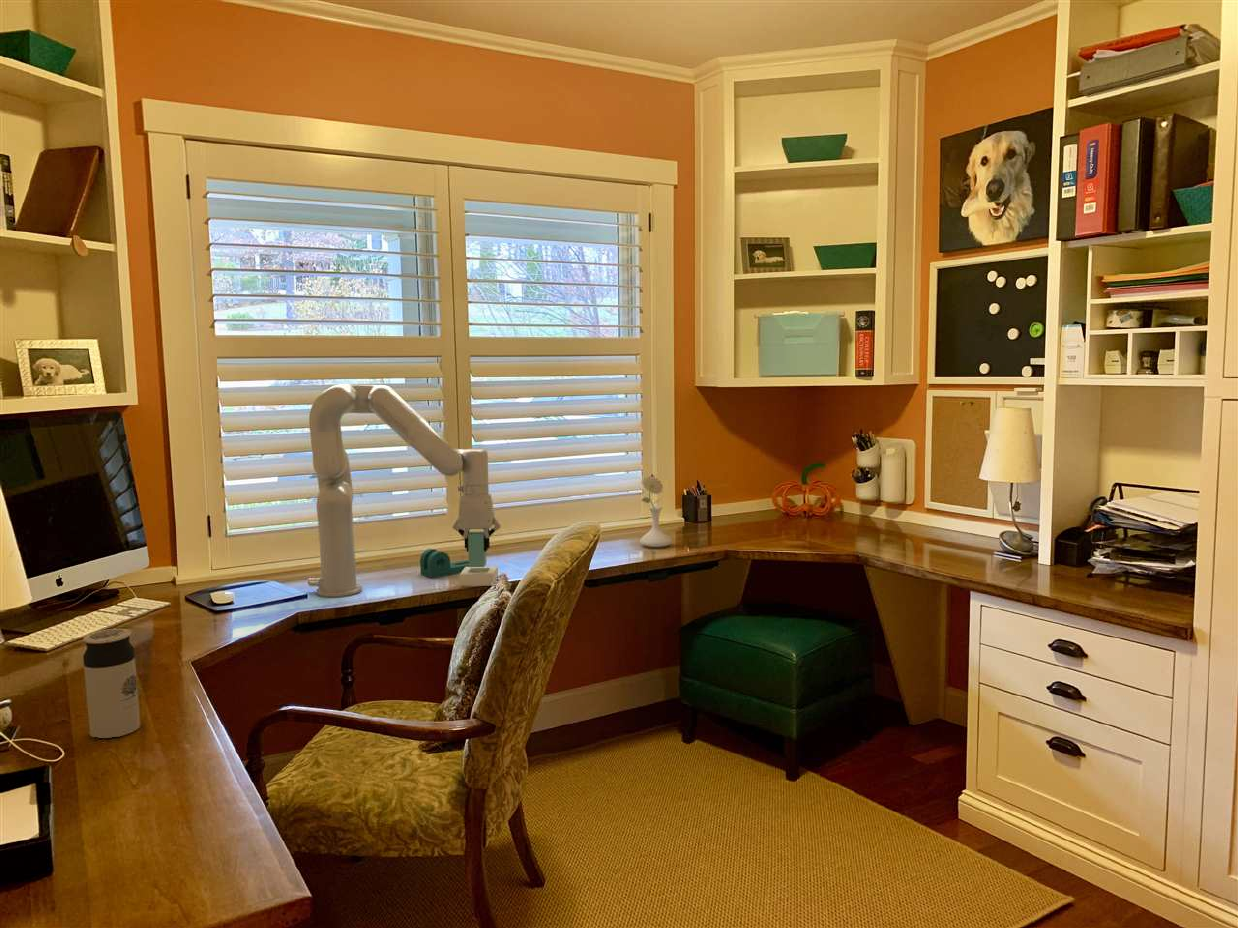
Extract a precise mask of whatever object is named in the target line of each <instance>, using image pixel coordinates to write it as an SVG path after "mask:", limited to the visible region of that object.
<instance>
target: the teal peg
mask: <svg viewBox="0 0 1238 928" xmlns="http://www.w3.org/2000/svg"><path fill="white" fill-rule="evenodd" d="M484 536H485V534H484V530H482V531H478V530H476V531H474V530H470V532H469V534H468V560H469V567H484V566H486V565H487V551H486V552H485V551H484V538H485V537H484Z"/></svg>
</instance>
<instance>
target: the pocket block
mask: <svg viewBox="0 0 1238 928" xmlns="http://www.w3.org/2000/svg"><path fill="white" fill-rule="evenodd" d="M497 577H498V578H499V566H497V565H495V566H493V565H492V566H491V565H490V566H486V565H485V566H484V567H465V568H464V569H463V571H462V572H461V573H459V586H460V587H473V586H474V587H475V586H477V587H479V586H480V587H481V586H482V587H483V586H486V587H487V586H492V585H491V584H492V583H493V582H494V581H495V579H496V578H497Z"/></svg>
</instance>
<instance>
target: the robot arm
mask: <svg viewBox="0 0 1238 928" xmlns="http://www.w3.org/2000/svg"><path fill="white" fill-rule="evenodd" d="M346 414H375V415H376V416H377V417H378V418H379V419H380V420H381V421H382V422H383V423H385V425H386V426H388V427H389V428H390V429H391V430H392V431H393V432H394V433H395V434H397V435H398V437H400V438H401V439H402V440H403V441H404V442H405V443H406V444H407V445H409V446H410V447H411V448H413V449H414V450H415V451H416V453H418V454H419V455H420V456H421V457H423V458H424V459H425V460H426V461H427V462H428V463H429V464H430V465H431V466H432V467H433V468H435V469H436V470H437V471H438V473H440V474H441V475H443V476H445V477H454V476H457V475H458V474H460V473H462V485H460V486H458V487H457V491H458V492H462V494H461V495H460V496H459V500H458V501H459V502H458V518H457V520H456V521H455V523H453V525H452V529H453V530H455V531H456V532H458V533H459V535H460V536H462V537H463V539H464V549H466V552H468V534H469V533H470V532H471V530H482V531H484V534H485V536H484V537H485V538H484V551H485V552H486V553H487V551H488V549H490V547H491V544H490V537H491V536H492V535H494V533H495V532H497V530H499V529H500V528H502V525H501V524H500V523H499V521H498V520H497V519H496V517H495V513H494V504H493V503H494V502H493V500H492V499H493V498H492V494H490V491H489V456H488V455H489V454H488V451H487V450H486V449H485V448H466V449H463V448H462V449H460V448H453V447H452V446H450V444H448V443H447V442H446V441H445V440H444V439H443V437H441V436H440V435H439V434H438V433H437V432H436V431H435V429H433V427H431V425H430V424H429V423H428V421H427V420H426V419H425V418H424V417H423V416H422V415H421V414H420V413H419V412H417V411H416V409H414V408H413V407H412V406H411V405H410V404H409V403H408V402H407V401H405V400H404V399H403V398H402V396H400V395H399V394H398V393H397V392H396V391H395V390H394V389H393V388H392V387H391V386H389V385H385V384H384V385H383V384H347V383H341V384H335V385H332V386H331V387H329V388H327V389H326V390H324V391H323V392H322V393H320V394H319V395H318V397H317V398H316V399H315V400H314V401H313V403H312V405H311V408H310V410H309V417H308V418H309V419H308V422H309V425H308V426H309V434H310V444H311V451H312V452H311V454H312V465H313V469H314V472H315V473H316V476H317V483H318V490H319V492H318V495H317V497H316V514H317V523H318V524H317V525H318V526H317V527H318V539H319V540H318V541H319V550H320V551H319V554H320V570H321V571H320V572H321V576H320V577H318V578H313V577H312V578H308V579H307V584H308V586H309V587H318V588H317V589H316V595H318V596H320V597H326V598H336V597H337V598H338V597H346V596H351V595H355V594H359V593H361V592H362V590H363V586H362V584H360V583H357V572H356V553H355V552H356V550H355V537H354V536H355V535H354V522H353V521H354V519H353V500H354V489H353V483H352V481H353V480H352V474H351V473H352V472H351V467H350V466H351V464H350V460H349V456H348V453H347V451H346V450H345V449H344V444H343V433H342V426H341V420H342V418H343V416H344V415H346Z"/></svg>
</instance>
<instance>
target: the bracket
mask: <svg viewBox="0 0 1238 928" xmlns="http://www.w3.org/2000/svg"><path fill="white" fill-rule="evenodd" d="M419 564H420V565H419V566H420V569H419V570H420V575H421V576H423V577H427V578H429V579H435V578H441V577H445V576H451V574H452V575H456V574H460V573H461V572H462V571H463V569H464V568H465V567H469V559H468V560H466V559H465V560H459V561H453V562H451V559H450V556H449V554H447V553H446V552H444V551H442V550H437V549H433V548H428V549H425V550H424V551H423V552H422V553H421V555H420V559H419Z"/></svg>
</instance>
